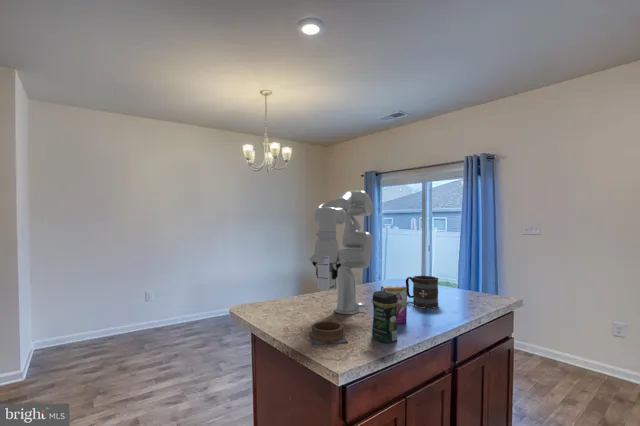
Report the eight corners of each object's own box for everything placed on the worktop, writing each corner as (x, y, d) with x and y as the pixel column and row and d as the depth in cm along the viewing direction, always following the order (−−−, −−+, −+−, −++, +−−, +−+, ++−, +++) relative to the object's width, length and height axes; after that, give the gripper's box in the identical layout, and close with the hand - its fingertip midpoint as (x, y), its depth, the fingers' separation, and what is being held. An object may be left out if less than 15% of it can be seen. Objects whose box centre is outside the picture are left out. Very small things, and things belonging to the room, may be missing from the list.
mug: (443, 305, 181) (443, 278, 181) (429, 310, 172) (429, 281, 172) (413, 298, 196) (413, 273, 196) (398, 302, 188) (398, 275, 188)
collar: (340, 330, 140) (340, 320, 140) (348, 342, 127) (348, 331, 127) (308, 332, 138) (308, 321, 138) (312, 344, 125) (312, 332, 125)
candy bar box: (383, 325, 148) (383, 288, 148) (379, 321, 153) (379, 285, 153) (407, 323, 150) (407, 287, 150) (402, 320, 155) (402, 285, 155)
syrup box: (329, 290, 138) (329, 255, 138) (317, 289, 141) (317, 254, 141) (335, 288, 142) (336, 254, 143) (324, 287, 146) (324, 253, 146)
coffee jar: (368, 337, 132) (368, 291, 133) (382, 333, 137) (382, 288, 137) (387, 345, 125) (387, 295, 125) (401, 340, 130) (401, 292, 130)
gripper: (305, 235, 142) (304, 278, 141) (343, 236, 135) (343, 281, 135) (312, 235, 149) (311, 275, 148) (349, 236, 142) (348, 278, 142)
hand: (326, 277), depth 142 cm, fingers closed on syrup box, 6 cm apart
